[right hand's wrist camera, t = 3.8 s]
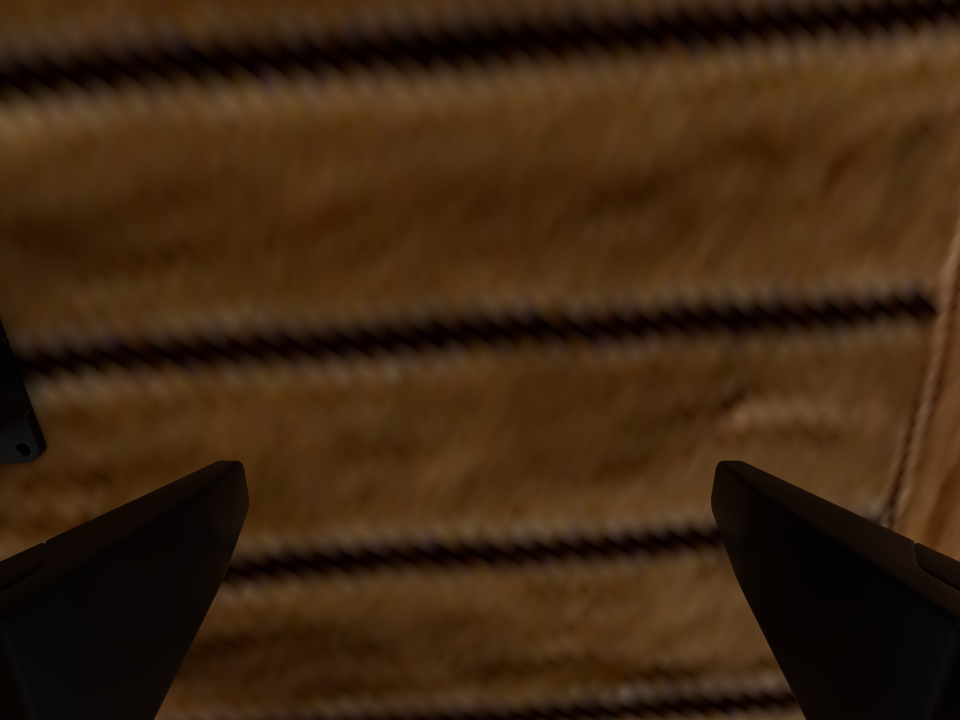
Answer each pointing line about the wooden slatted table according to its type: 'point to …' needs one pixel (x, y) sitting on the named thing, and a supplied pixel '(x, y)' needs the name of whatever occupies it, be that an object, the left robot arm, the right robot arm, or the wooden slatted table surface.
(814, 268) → the wooden slatted table surface
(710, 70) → the wooden slatted table surface
